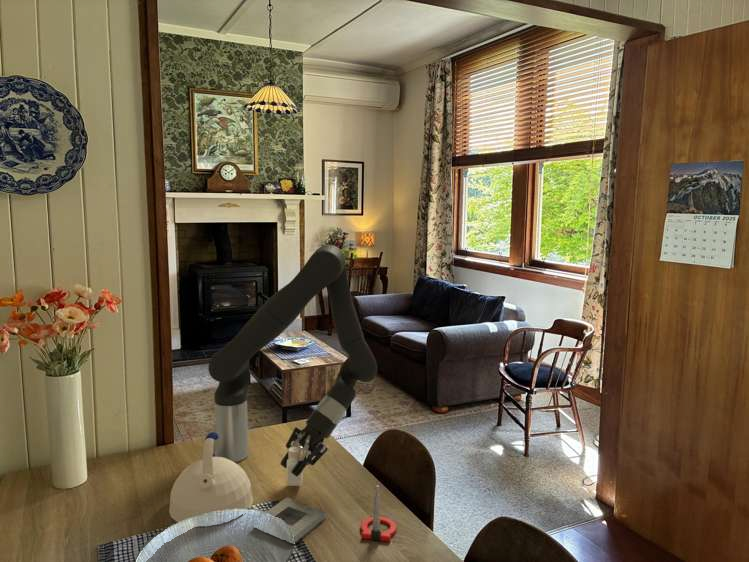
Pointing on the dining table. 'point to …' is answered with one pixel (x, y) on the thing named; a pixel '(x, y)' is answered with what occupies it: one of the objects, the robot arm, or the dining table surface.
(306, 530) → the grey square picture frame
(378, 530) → the tow hook
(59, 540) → the dining table surface
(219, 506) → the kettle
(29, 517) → the dining table surface
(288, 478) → the salt shaker
